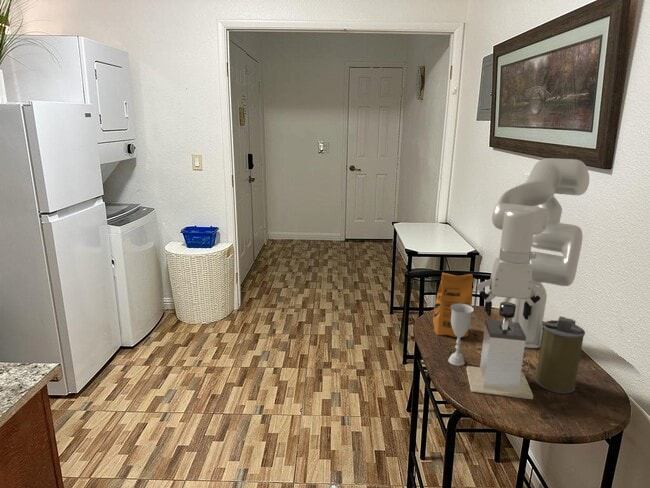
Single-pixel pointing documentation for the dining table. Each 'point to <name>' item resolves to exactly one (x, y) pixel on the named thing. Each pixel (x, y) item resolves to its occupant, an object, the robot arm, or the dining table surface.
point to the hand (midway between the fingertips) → (506, 315)
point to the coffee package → (451, 301)
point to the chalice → (459, 328)
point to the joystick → (501, 362)
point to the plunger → (506, 313)
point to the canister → (559, 355)
